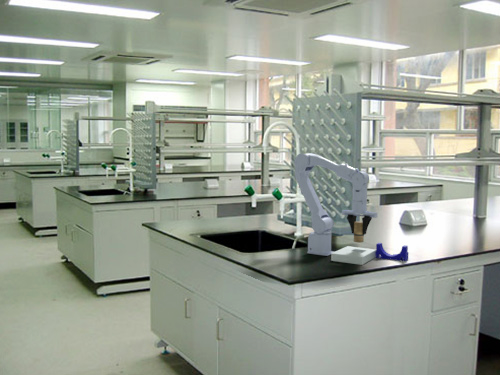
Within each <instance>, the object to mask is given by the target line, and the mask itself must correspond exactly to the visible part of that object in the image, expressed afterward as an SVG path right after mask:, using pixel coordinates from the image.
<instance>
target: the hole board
mask: <svg viewBox="0 0 500 375" xmlns="http://www.w3.org/2000/svg"><path fill="white" fill-rule="evenodd" d="M330 255H331V256H330V257H331V259H330V261H331V262H332V261H333V262H339V263H344V264H345V263H347V264H354V265H360V266H363V265H365V264H366V263H369V261H372V260H374V259H376V249H374V248H367V247H359V246H350V245H347V246H345V247H342V248H340V249H338V250H336V251H334V252H333V253H331V254H330Z"/></svg>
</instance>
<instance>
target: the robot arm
mask: <svg viewBox="0 0 500 375" xmlns="http://www.w3.org/2000/svg"><path fill="white" fill-rule="evenodd" d="M293 164H294V178H295V180H296V183H297V184H298V188H300V191H301V194H302V196H303V198H304V201H305V203H306V205H307V207H308V209H309V212H310V213H311V214H310V216H311V217H310V220H311V228H312V231H311V232H309V234H308V238H307V252H306V253H307V254H311V255H318V256H325V257H326V256H327V257H328V256H330V255H331V253H333V252H335V251H333V250H332V229H333V228H334V226H335V225H334V223H335V222H334V219H333V218H332V217H330V215H329V213H328V212H327V211H326V210H324V208H323V206H322V204H321V201H320V200H319V197H318V195H317V192H316V190H315V188H314V186H313V184H312V181H311V180H310V178H309V175H310V173H311V172H312V170H313V169H314V167H315V166H319V167H321V168H325V169H327V170H330V171H332V172H334V173H335V175H336V177H338V178H341V179H343V180H345V181H348V182H350V183H351V184H352V203H351V204H352V206H351V209H342V210H341V215H342V216H346V219H347V222H348V223H349V226H350V230H351V234H354V222H357V218H358V217H361V222H363V235H366V234H367V231H368V227H369V225H370V223H371V221H372V219H373V218H374V219H377V218H378V212H375V211H370V210H369V211H367V207H368V205H367V204H368V183H369V181H370V175H369V174H368V172H366V171H364V170H360V169H359V168H354V167H352V166H349V165H350V164H349V163H340V164H338V163H335V162H334V161H332V160H329V159H328V158H326V157H323V156H322V155H319V154H317V153H316V154H315V153H313V152H307V153H301V152H300V153H298V154H296V157H295V159H294V161H293Z"/></svg>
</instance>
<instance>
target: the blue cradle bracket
mask: <svg viewBox="0 0 500 375" xmlns="http://www.w3.org/2000/svg"><path fill="white" fill-rule="evenodd" d="M375 245H376V246H375V247H376V257H375V259H376V258H377V259H382V260H392V261H399V262H407V261H408V260H409V252H408V251H409V250H408V249H409V246H408V245H402V246H401V250H400V252H399V253H396V254H394V253H393V254H390V253H388V252H387V251H386V250H385V248H384V246H383V243H382V242H378V243H376V244H375Z"/></svg>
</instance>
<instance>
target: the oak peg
mask: <svg viewBox="0 0 500 375" xmlns="http://www.w3.org/2000/svg"><path fill="white" fill-rule="evenodd" d="M364 237H365V236H364V235H363V222H362V221H357V220H356V222H354V233H353V242H354V243H364V240H365V239H364Z"/></svg>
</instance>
